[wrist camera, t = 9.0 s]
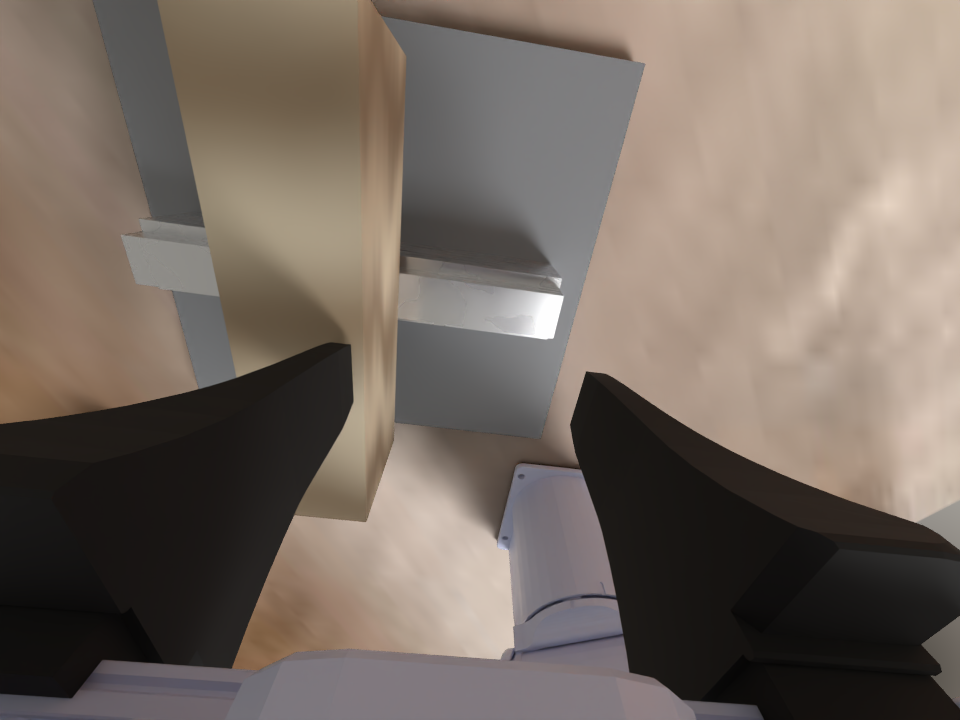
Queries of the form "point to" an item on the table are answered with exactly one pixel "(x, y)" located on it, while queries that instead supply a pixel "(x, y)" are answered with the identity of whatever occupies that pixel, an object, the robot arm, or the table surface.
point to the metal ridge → (422, 279)
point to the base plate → (433, 196)
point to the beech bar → (302, 199)
